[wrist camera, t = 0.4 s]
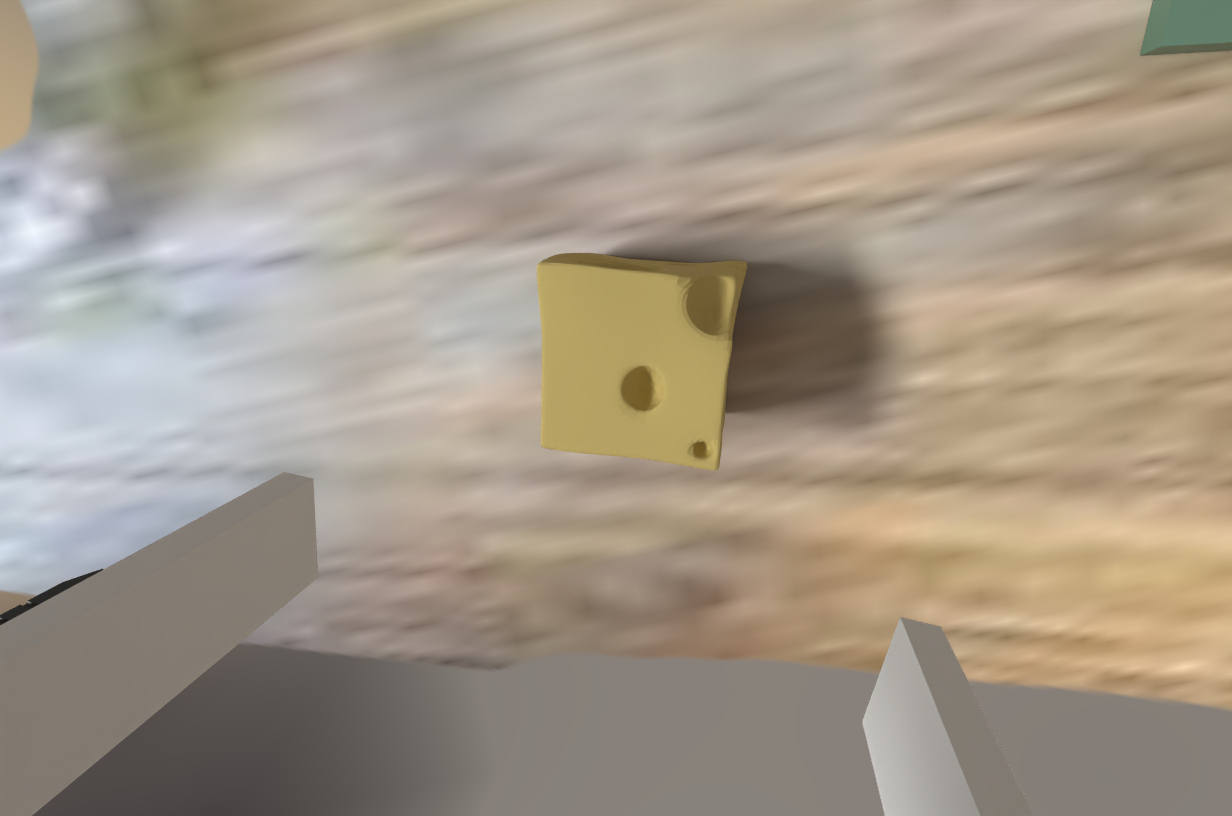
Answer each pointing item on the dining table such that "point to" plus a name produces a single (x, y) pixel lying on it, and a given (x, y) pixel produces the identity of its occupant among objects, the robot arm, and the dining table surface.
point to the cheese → (637, 355)
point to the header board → (1188, 27)
